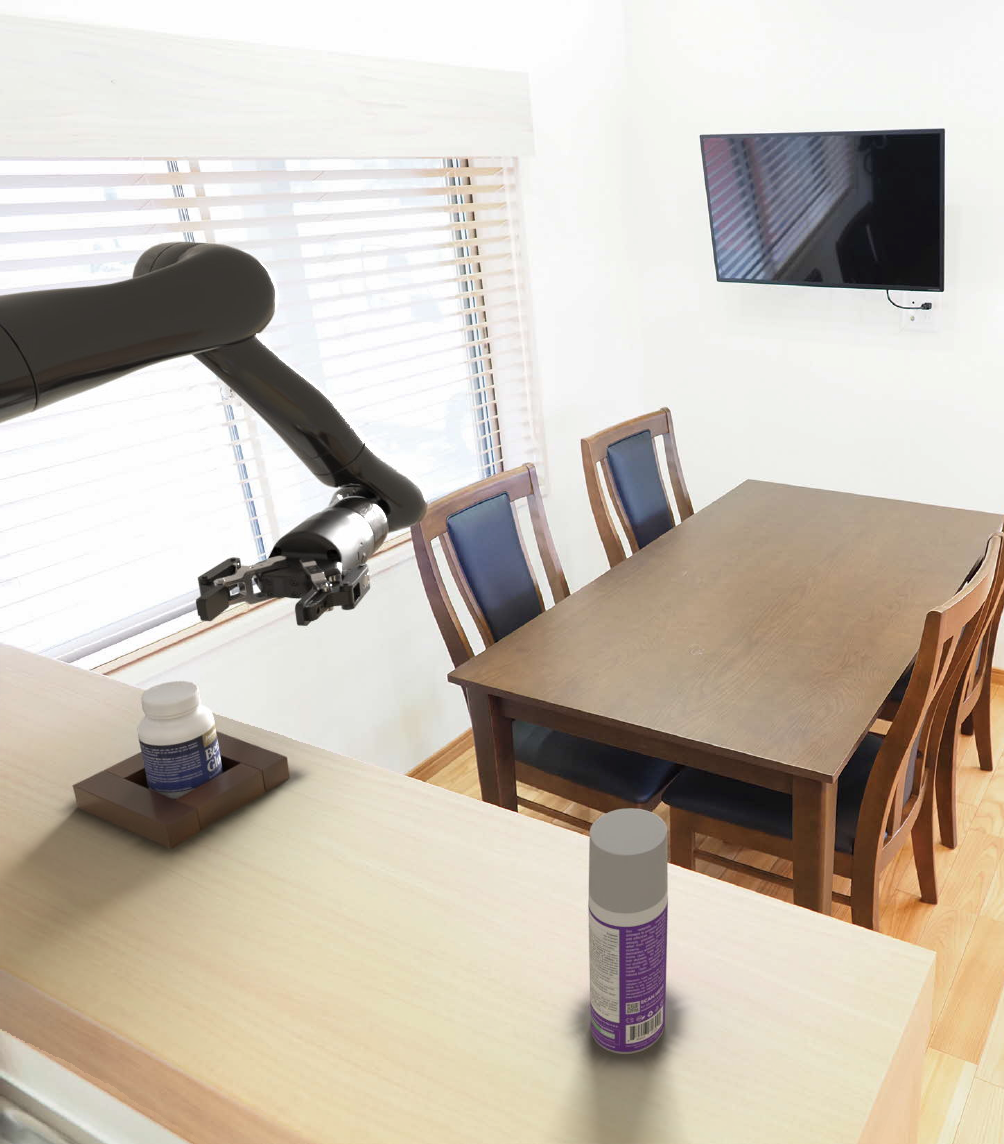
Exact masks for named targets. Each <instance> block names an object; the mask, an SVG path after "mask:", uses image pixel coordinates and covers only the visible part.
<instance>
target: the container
mask: <svg viewBox="0 0 1004 1144" xmlns="http://www.w3.org/2000/svg"><path fill="white" fill-rule="evenodd" d="M588 841H589V846H588V849H589V850H588V853H589V854H588V899H587V900H588V901H587V902H588V903H587V904H588V905H587V906H588V908H587V909H588V911H587V912H588V958H589V959H588V960H589V961H588V963H589V964H588V965H589V969H588V970H589V1019H590V1021H589V1023H590V1024H589V1025H590V1033H591V1035H592V1038H593V1039H594V1041H595V1043H597V1045H599V1047H601V1048H603V1049H604V1050H606V1051H607V1052H611V1053H615V1054H619V1055H620V1054H621V1055H628V1054H629V1055H631V1054H635V1053H639V1052H642V1051H645V1050H647V1049H648V1048H650V1047H651V1046H653V1045H654V1044H656V1043H657V1042H658V1041H659V1039H660V1038H661V1036H662V1035H663V1032H664V1031H665V1026H666V1002H667V1001H666V1000H667V961H668V960H667V959H668V955H667V954H668V920H669V919H668V915H669V914H668V913H669V885H668V884H669V883H668V882H669V880H668V879H669V877H668V876H669V874H668V873H669V872H668V827H667V824H666V822H665V821H664V820H663V819H662V818H661V817H660V816H659V815H657V814H656V813H653V812H652V811H649V810H646V809H641V808H620V809H615V810H612V811H609V812H607V813H604V814H603V815H601V816H599V817H598V818H597V819H596V820H595V821H594V822H593V823H592V825H590V829H589V840H588Z"/></svg>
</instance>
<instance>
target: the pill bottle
mask: <svg viewBox="0 0 1004 1144" xmlns="http://www.w3.org/2000/svg"><path fill="white" fill-rule="evenodd" d="M199 689H200V688H199V686H198V685H197V684H196V683H194V682H191V681H186V680H176V681H175V680H173V681H169V682H162V683H159V684H157V685H154V686H152V687H150V688H148V689H146V690H145V691H143V693H142V694H141V697H140V700H141V709H142V711H143V714H144V716H143V717H142V718H141V719H140V720H139V722H138V725H137V728H136V732H137V737H138V743H139V747H140V752H142V757H143V762H144V767H145V772H146V777H147V782H148V787H149V789H150V790H152V791H154V792H157V793H159V794H162V795H164V796H167V797H169V798H171V799H174V800H176V799H177V798H179V797H181V796H183V795H184V794H186V793H188V792H190V791H192V790H193V789H195V788H197V787H199V786H201V785H202V784H204V783H206V782H208V781H210V780H211V779H213V778H215V777H217V776H219V775H220V774H222V773H223V769H222V763H221V757H220V751H219V746H218V740H217V734H216V731H217V729H216V723H215V719H214V715H213V712H212V710H210V709H209V708H208V707H206V706H205V705H203V704H202V703H201V702H202V701H201V695H200V694H201V693H200V690H199Z"/></svg>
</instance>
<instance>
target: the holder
mask: <svg viewBox="0 0 1004 1144" xmlns="http://www.w3.org/2000/svg"><path fill="white" fill-rule="evenodd" d="M216 734H217V740H218V746H219V751H220V757H221V763H222V769H223V773H222V774H220V775H219V776H217V777H215V778H213V779H211V780H210V781H208V782H206V783H204V784H202V785H201V786H199V787H197V788H195V789H193V790H192V791H190V792H188V793H186V794H184V795H183V796H181V797H179V798H177V799H176V800H174V799H171V798H169V797H167V796H164V795H162V794H159V793H157V792H154V791H152V790H150V789H149V787H148V782H147V777H146V772H145V767H144V762H143V757H142V752H141V751H140V752H138V753H136V754H133V755H132V756H130V757H127V758H125V759H124V760H122V761H120V762H117V763H115V764H113V765H112V766H109V767H107V768H105V769H103V770H100V771H99V772H97V773H95V774H93V775H90V776H89V777H87V778H84V779H82V780H81V781H78V782H77V783H75V784H72V789H73V793H74V797H75V802H76V806H77V808H78V809H80V810H81V811H84V812H86V813H89V814H91V815H92V816H93V815H94V816H96V817H98V818H101V819H102V820H104V821H107V822H109V823H111V824H114V825H116V826H117V827H118V826H119V827H120V828H123V829H124V830H128V831H130V832H132V833H134V834H137V835H139V836H141V837H143V838H145V839H148V840H150V841H153V842H155V843H157V844H159V845H162V846H164V847H166V848H168V849H170V850H171V849H173V848H175V847H177V846H178V845H180V844H182V843H184V842H185V841H187V840H188V839H190V838H192V837H193V836H195V835H197V834H198V833H200V832H202V831H203V830H205V829H206V828H208V827H211V826H212V825H213V824H215V823H217V822H219V821H220V820H222V819H223V818H225V817H227V816H229V815H230V814H232V813H233V812H235V811H237V810H239V809H240V808H242V807H244V806H246V805H247V804H248V803H250V802H252V801H254V800H255V799H257V798H259V797H260V796H262V795H264V794H265V793H267V792H269V791H270V790H272V789H274V788H275V787H277V786H278V785H280V784H282V783H284V782H285V781H287V780H288V779H290V778H291V775H290V769H289V762H288V756H286V755H284V754H281V753H278V752H275V751H273V750H270V749H267V748H265V747H261V746H259V745H256V744H253V743H251V742H248V741H245V740H242V739H239V738H237V737H235V736H231V735H229V734H226V733H224V732H220V731H218V730H216Z"/></svg>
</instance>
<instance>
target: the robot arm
mask: <svg viewBox="0 0 1004 1144" xmlns="http://www.w3.org/2000/svg"><path fill="white" fill-rule="evenodd" d="M278 301H279V292H278V287H277V283H276V281H275V279H274V277H273V275H272V273H271V271H270V270H269V269H268V268H267V267H266V265H265V264H264V263H262V262H261V261H260V260H259V259H258V258H256V257H255V256H253V255H252V254H250V253H248V252H246V251H244V250H242V249H239V248H237V247H234V246H231V245H227V244H222V243H213V242H196V241H195V242H194V241H168V242H161V243H158V244H155V245H153V246H150V247H149V248H148V249H147V250H145V251H144V252H143V253H142V254H141V255H140V256H139V257H138V259H137V260H136V262H135V265H134V268H133V272H132V277H131V278H129V279H126V280H121V281H117V282H112V283H106V284H97V285H87V286H77V287H76V286H75V287H63V288H51V289H41V290H31V291H24V292H16V293H8V294H1V295H0V424H4V423H5V422H10V421H11V420H14V419H17V418H20V417H22V416H25V415H28V414H32V413H34V412H36V411H39V410H41V409H43V408H45V407H48V406H51V405H53V404H55V403H58V402H60V401H61V402H62V401H63V400H67V399H69V398H71V397H74V396H77V395H79V394H80V395H81V394H82V393H86V392H88V391H91V390H94V389H97V388H98V387H101V386H103V385H106V384H108V383H111V382H113V381H115V380H119V379H121V378H123V377H125V376H127V375H130V374H132V373H135V372H137V371H140V370H143V369H145V368H148V367H151V366H154V365H157V364H160V363H163V362H168V361H171V360H174V359H179V358H183V357H187V356H193V358H195V359H196V360H197V361H199V362H200V363H201V364H202V365H204V366H205V367H206V368H207V369H208V370H210V371H211V373H213V374H214V375H215V377H217V378H218V379H219V380H221V381H222V382H223V383H224V384H225V385H226V386H228V388H230V389H231V390H232V391H233V392H234V393H235V394H236V395H237V396H238V397H239V398H241V399H242V401H244V402H245V403H246V404H247V405H248V406H249V407H250V408H251V409H252V410H253V411H254V412H255V413H256V414H257V415H258V416H259V417H260V418H261V419H262V420H263V421H264V422H265V423H266V424H267V425H268V426H269V427H270V428H271V429H272V430H273V431H274V432H275V434H276V435H277V436H279V438H280V439H281V440H282V441H283V442H284V443H285V445H287V447H288V448H289V449H290V451H292V452H293V454H294V455H295V456H296V457H297V458H298V459H299V460H300V461H301V463H302V464H304V466H305V467H306V468H307V470H309V472H310V473H311V474H312V475H313V476H314V477H315V478H316V480H318V481H319V482H320V483H321V484H323V485H324V486H327V487H330V488H335V489H337V490H336V491H334V492H333V494H332V496H331V498H330V501H329V503H328V505H327V507H325V508H324V509H322V510H321V511H319V512H316V513H314V514H312V515H311V516H309V517H307V518H306V519H305V520H303V521H302V522H301V523H299V524H298V525H297V526H295V527H294V528H292V529H291V530H289V531H288V532H287V533H286V534H285V535H283V536H281V537H280V538H279V539H278V540H277V541H276V543H275V544H274V545H273V548H272V550H271V551H270V553H269V555H268V557H267V558H266V559H264V560H261V561H258V562H256V563H254V564H251V565H243V564H242V563H241V558H240V557H237V556H236V557H234V556H233V557H228V558H227V559H225V560H223V561H222V562H220V563H219V564H217V565H215V566H214V567H212V568H211V569H209V570H207V571H205V572H204V573H202V574H200V575H199V576H197V583H198V588H199V597H197V598H196V599H195V605H196V611H197V616H198V617H199V620H200V622H201V621H202V622H212V621H214V620H215V619H216V618H217V617H218V616H220V615H221V614H223V613H224V612H225V611H226V610H227V609H228V608H230V606H233V605H237V604H241V603H246V604H248V605H255V604H259V603H262V602H265V601H270V600H271V599H273V600H274V599H277V600H281V599H284V598H286V599H287V598H288V599H295V600H297V599H299V600H298V601H297V602H296V603H295V605H294V614H295V621H296V625H297V626H298V627H307V626H308V625H309V624H311V623H312V622H315V621H316V620H319V618H320V617H321V616H323V614H324V613H328V612H332V611H334V609H335V608H334V607H341V610H343V611H351V610H354V609H355V608H356V607H357V606H359V604H360V602H361V601H362V600H363V598H364V597H365V596H366V595H367V594H368V592H369V591H370V590H371V580H370V578H371V577H370V571H369V570H370V569H369V565H368V564H367V562H368V560H369V559H370V558H371V557H372V556H373V555H374V554H375V553H376V552H377V551H378V550H379V549H380V548H381V547H382V545H383V544H384V542H385V541H386V539H387V537H388V534H391V533H394V532H398V531H401V530H404V529H405V530H406V529H408V528H411V527H414V526H415V525H417V524H419V523H421V522H422V521H423V520H424V518H425V517H426V514H427V512H428V508H429V507H428V504H429V503H428V496H427V494H426V490H425V489H424V486H423V485H422V483H421V482H420V481H419V479H418V478H417V476H415V475H414V473H412V472H411V471H410V470H409V469H408V468H407V467H405V466H404V465H402V464H401V463H400V462H398V461H397V460H395V459H394V458H392V457H391V456H389V455H388V454H386V453H385V452H384V451H382V450H381V449H380V448H379V447H377V446H375V445H374V444H372V443H371V442H370V441H368V439H367V438H366V437H365V435H364V434H363V433H362V431H360V429H359V428H358V426H356V424H355V423H354V422H353V420H352V419H351V418H350V416H349V415H348V414H347V413H346V412H345V411H344V409H343V408H342V407H341V406H340V405H339V404H338V403H337V401H336V400H335V399H333V398H332V397H331V396H330V395H329V394H328V393H327V392H326V391H324V390H323V389H322V388H321V387H319V386H318V385H317V384H316V383H315V382H313V381H311V380H310V379H309V378H308V377H307V376H305V375H304V374H303V373H301V372H300V371H299V370H298V369H296V368H295V367H293V366H292V365H291V364H290V363H289V362H287V361H286V360H285V359H284V358H282V357H281V356H280V355H279V354H278V353H277V352H276V351H275V350H273V349H272V348H271V347H270V346H269V345H268V344H267V343H266V342H265V341H264V340H263V339H262V337H261V336H259V335H260V334H261V333H262V332H263V331H264V330H265V329H266V328H267V327H268V325H269V324H270V323H271V321H272V320H273V318H274V316H275V314H276V311H277V307H278V303H279V302H278ZM253 582H254V583H255V585H256V586H257V588H258V589H259V592H254V585H253ZM235 588H238V592H237V593H234V594H231V591H233V590H234V589H235Z"/></svg>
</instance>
